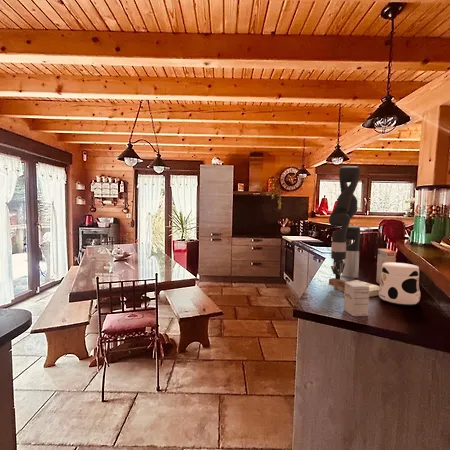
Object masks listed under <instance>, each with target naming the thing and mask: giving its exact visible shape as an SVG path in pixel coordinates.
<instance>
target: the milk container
mask: <svg viewBox="0 0 450 450" xmlns="http://www.w3.org/2000/svg"><path fill="white" fill-rule="evenodd" d="M378 286H379V295H378V296H379V298H380V300H382V301H384V302H385V303H388V304H391V305H396V306H405V307H410V306H415V305H418V304H419V303H420V300H421V296H422V295H421V294H422V293H421V290H420V267H419V266H418V265H415V264H410V263H405V262H395V263H383V264H382V272H381V283H380V285H378Z"/></svg>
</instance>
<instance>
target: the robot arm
mask: <svg viewBox="0 0 450 450" xmlns="http://www.w3.org/2000/svg"><path fill="white" fill-rule="evenodd" d="M338 177H339V178H338V179H339V186H340V194H339V195H338V196H337V197H338V198H337V200H336V201H337V202H336V204H335V207H334V208H333V210H332V211H331V213H330V215H329V217H328V223H329V225H330V226H331V227H338V228H339V227H340V229H339V230H334V231H333V232H332V233H331V234H332V235H331V237H332V238H331V251H330V258H331V259H332V260H333V262H332V263H333V264H332V265H331V266H330V268H331V271H332V273H333V275H334V276H335V277H334V278H335V279H340V280H341V276H343V277H345V278H359V266H360V265H359V264H360V263H359V262H360V239H361V228H360V226H358V225H350V222H351V220H352V218H353V217H354V216H355V214H357V212H358V198H357V197H356V196H355V191H356V188H357V185H358V183H359V182H360V177H361V169H360V167H359V166H353V165H352V166H348V165H347V166H341V167H340V169H339V171H338ZM348 183H349V185H348ZM347 241H353V242H352V243H349V244H347Z"/></svg>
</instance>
